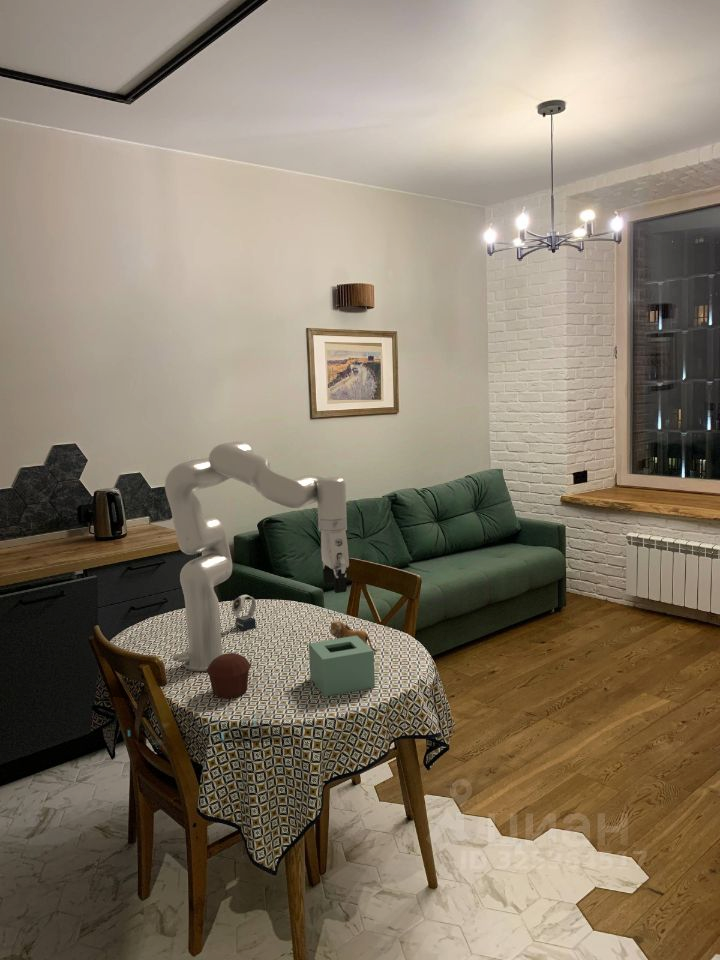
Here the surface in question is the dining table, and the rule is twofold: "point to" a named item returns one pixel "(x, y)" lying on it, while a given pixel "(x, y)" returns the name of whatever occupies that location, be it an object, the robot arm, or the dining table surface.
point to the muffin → (229, 675)
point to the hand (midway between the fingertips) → (334, 587)
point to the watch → (246, 621)
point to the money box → (341, 665)
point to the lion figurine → (348, 632)
